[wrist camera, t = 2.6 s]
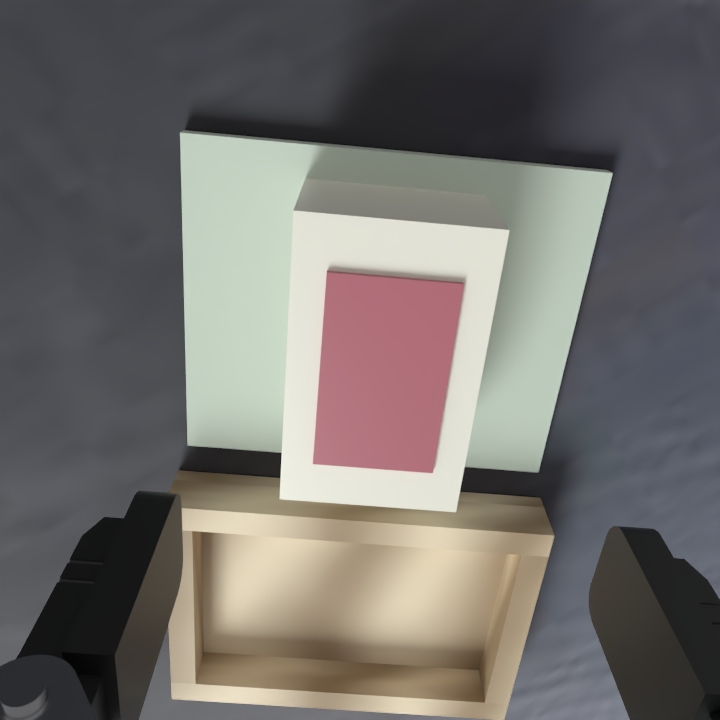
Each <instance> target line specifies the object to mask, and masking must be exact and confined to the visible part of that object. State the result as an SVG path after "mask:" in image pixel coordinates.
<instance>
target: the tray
mask: <svg viewBox="0 0 720 720" xmlns="http://www.w3.org/2000/svg"><path fill="white" fill-rule="evenodd" d="M169 493H176V494H180V496H181V504H182V535H183V569H182V577H181V583H180V587H179V591H178V595H177V598H176V601H175V604H174V608H173V611H172V614H171V617H170V620H169V624H168V625H169V647H170V670H171V692H172V699H179V700H195V701H211V702H227V703H242V704H258V705H274V706H289V707H305V708H321V709H336V710H352V711H368V712H384V713H399V714H415V715H431V716H446V717H462V718H478V719H494V720H504V718H505V715H506V711H507V707H508V704H509V700H510V697H511V693H512V689H513V686H514V682H515V678H516V675H517V671H518V667H519V664H520V660H521V656H522V653H523V649H524V645H525V642H526V638H527V635H528V631H529V627H530V624H531V620H532V616H533V613H534V609H535V605H536V602H537V598H538V594H539V591H540V587H541V583H542V580H543V576H544V573H545V569H546V565H547V562H548V558H549V554H550V551H551V547H552V543H553V540H554V536H555V535H554V533H553V530H552V527H551V525H550V522H549V519H548V517H547V514H546V511H545V509H544V506H543V503H542V501H541V498H537V497H524V496H510V495H497V494H484V493H471V492H460V494H459V499H458V505H457V510H456V512H444V511H430V510H417V509H404V508H390V507H377V506H364V505H350V504H337V503H323V502H310V501H297V500H283V499H280V478H273V477H260V476H247V475H234V474H221V473H207V472H194V471H181V470H178V472H177V475H176V477H175V480H174V482H173V484H172V487H171V489H170V492H169Z"/></svg>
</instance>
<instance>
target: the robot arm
mask: <svg viewBox="0 0 720 720" xmlns="http://www.w3.org/2000/svg"><path fill="white" fill-rule="evenodd" d="M182 569H183V535H182V504H181V496H180V494H176V493H162V492H149V491H138V492H137V493H136V494H135V496H134V498H133V500H132V502H131V505H130V507H129V509H128V511H127V513H126V515H125V517H124V519H123V518H109V517H104V518H103V519H102V520H100V521H99V522H98V523H97V524H96V525H94V526H93V527H92V528H91V529H90V530H89V531H87V532H86V533H85V534H84V535H83V536H82V537H81V539H80V541H79V543H78V545H77V546H76V548H75V550H74V552H73V554H72V556H71V558H70V562H69V563H67V565H66V567H65V569H64V571H63V573H62V575H61V576H60V581H59V582H57V584H56V586H55V588H54V590H53V592H52V593H51V595H50V597H49V599H48V601H47V603H46V605H45V607H44V608H43V610H42V612H41V614H40V616H39V618H38V620H37V622H36V623H35V625H34V627H33V629H32V631H31V633H30V635H29V637H28V638H27V640H26V642H25V644H24V646H23V648H22V650H21V652H20V653H19V655H18V656H17V658H16V659H15V660H13V661H10V662H8V663H6V664H4V665H2V666H1V667H0V720H138V719H139V716H140V713H141V710H142V707H143V704H144V700H145V697H146V694H147V691H148V688H149V684H150V681H151V678H152V675H153V672H154V668H155V665H156V662H157V659H158V656H159V652H160V649H161V646H162V643H163V640H164V636H165V633H166V630H167V627H168V624H169V620H170V617H171V614H172V611H173V608H174V604H175V601H176V598H177V595H178V591H179V587H180V583H181V577H182ZM589 610H590V615H591V619H592V622H593V625H594V628H595V630H596V633H597V635H598V638H599V641H600V643H601V646H602V648H603V651H604V654H605V656H606V659H607V661H608V664H609V667H610V669H611V672H612V674H613V677H614V679H615V682H616V685H617V687H618V690H619V692H620V695H621V698H622V700H623V703H624V705H625V708H626V710H627V713H628V716H629V718H630V720H720V599H719V598H718V596H717V594H716V593H715V591H714V590H713V588H712V586H711V585H710V583H709V582H708V580H707V579H706V578H705V577H703V576H702V575H701V574H700V573H699V572H698V571H697V570H696V569H695V568H693V567H692V566H691V565H690V564H689V563H688V562H687V561H686V560H685V559H676V558H673V556H672V554H671V552H670V551H669V549H668V547H667V546H666V544H665V542H664V540H663V539H662V537H661V535H660V534H659V533H658V532H657V531H656V530H655V529H647V528H633V527H619V526H614V527H612V528H611V529H610V530H609V532H608V534H607V536H606V540H605V543H604V546H603V549H602V552H601V555H600V558H599V561H598V564H597V567H596V570H595V573H594V577H593V580H592V583H591V586H590V591H589Z"/></svg>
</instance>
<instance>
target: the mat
mask: <svg viewBox="0 0 720 720" xmlns="http://www.w3.org/2000/svg"><path fill="white" fill-rule="evenodd" d="M180 145H181V187H182V229H183V270H184V312H185V354H186V396H187V438H188V446H200V447H213V448H226V449H239V450H252V451H265V452H278V453H282V436H283V415H284V394H285V373H286V353H287V332H288V311H289V290H290V269H291V248H292V227H293V210H294V207H295V205H296V202H297V199H298V197H299V194H300V191H301V188H302V186H303V183H304V180H305V178H306V179H317V180H327V181H338V182H349V183H360V184H371V185H382V186H393V187H403V188H414V189H425V190H436V191H447V192H458V193H469V194H479V195H485V196H486V198H487V199H488V201H489V202H490V203H491V205H492V206H493V208H494V209H495V210H496V212H497V213H498V214H499V216H500V217H501V219H502V220H503V221H504V223H505V224H506V226H507V227H508V228H509V230H510V231H509V236H508V242H507V247H506V252H505V257H504V263H503V268H502V273H501V278H500V284H499V289H498V294H497V299H496V305H495V310H494V315H493V320H492V326H491V331H490V336H489V342H488V347H487V352H486V357H485V363H484V368H483V373H482V378H481V384H480V389H479V394H478V399H477V405H476V410H475V415H474V420H473V426H472V431H471V436H470V442H469V447H468V452H467V457H466V463H465V467H472V468H485V469H498V470H511V471H524V472H537V473H539V469H540V465H541V461H542V457H543V453H544V449H545V444H546V440H547V436H548V432H549V428H550V424H551V420H552V416H553V412H554V408H555V404H556V400H557V396H558V392H559V388H560V384H561V380H562V376H563V372H564V368H565V364H566V360H567V356H568V352H569V348H570V344H571V340H572V336H573V332H574V328H575V324H576V320H577V316H578V312H579V308H580V303H581V299H582V295H583V291H584V287H585V283H586V279H587V275H588V271H589V267H590V263H591V259H592V255H593V251H594V247H595V243H596V239H597V235H598V231H599V227H600V223H601V219H602V215H603V211H604V207H605V203H606V199H607V195H608V191H609V187H610V183H611V179H612V175H613V173H612V172H610V171H608V170H602V169H591V168H581V167H570V166H559V165H549V164H538V163H528V162H517V161H506V160H496V159H485V158H474V157H464V156H453V155H443V154H432V153H421V152H411V151H400V150H389V149H379V148H368V147H358V146H347V145H336V144H326V143H315V142H304V141H294V140H283V139H273V138H262V137H251V136H241V135H230V134H219V133H209V132H198V131H188V130H184V131H182V132H180Z"/></svg>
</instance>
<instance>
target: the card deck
mask: <svg viewBox="0 0 720 720" xmlns="http://www.w3.org/2000/svg"><path fill="white" fill-rule="evenodd" d="M509 231H510V230H509V228H508V227H507V226H506V224H505V223H504V221H503V220H502V219H501V217H500V216H499V214H498V213H497V212H496V210H495V209H494V208H493V206H492V205H491V203H490V202H489V201H488V199H487V198H486V196H485V195H479V194H469V193H458V192H447V191H436V190H425V189H414V188H403V187H393V186H382V185H371V184H360V183H349V182H338V181H327V180H317V179H306V178H305V180H304V183H303V186H302V188H301V191H300V194H299V197H298V199H297V202H296V205H295V207H294V210H293V227H292V248H291V269H290V290H289V311H288V332H287V353H286V373H285V394H284V415H283V436H282V457H281V478H280V499H283V500H297V501H310V502H323V503H337V504H350V505H364V506H377V507H390V508H404V509H417V510H430V511H444V512H456V510H457V505H458V499H459V494H460V489H461V484H462V478H463V473H464V468H465V463H466V457H467V452H468V447H469V442H470V436H471V431H472V426H473V420H474V415H475V410H476V405H477V399H478V394H479V389H480V384H481V378H482V373H483V368H484V363H485V357H486V352H487V347H488V342H489V336H490V331H491V326H492V320H493V315H494V310H495V305H496V299H497V294H498V289H499V284H500V278H501V273H502V268H503V263H504V257H505V252H506V247H507V242H508V236H509Z"/></svg>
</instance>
